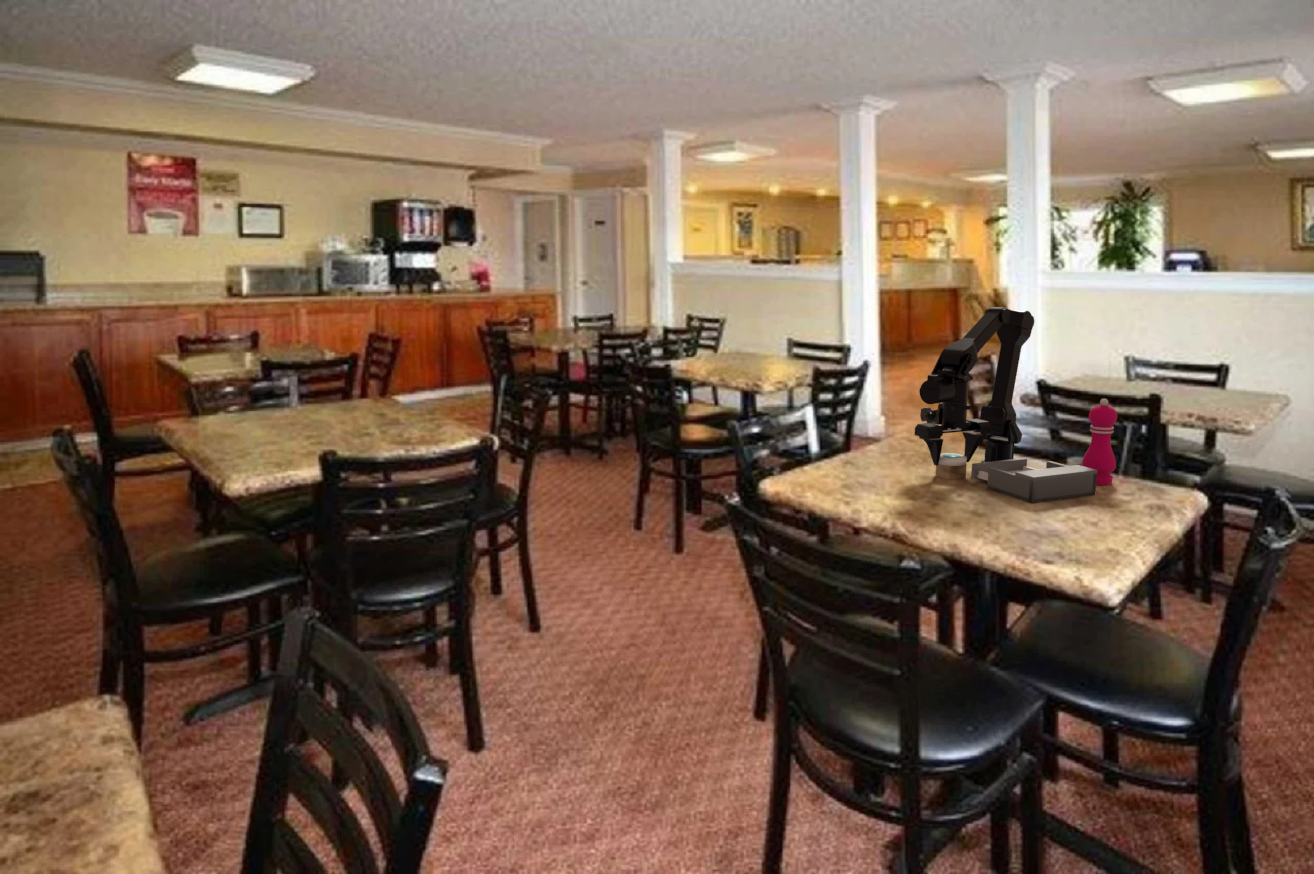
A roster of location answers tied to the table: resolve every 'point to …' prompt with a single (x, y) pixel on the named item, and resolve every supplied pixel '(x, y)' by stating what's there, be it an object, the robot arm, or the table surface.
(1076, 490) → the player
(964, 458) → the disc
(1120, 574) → the table surface
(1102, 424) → the pepper mill
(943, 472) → the block
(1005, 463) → the tray
